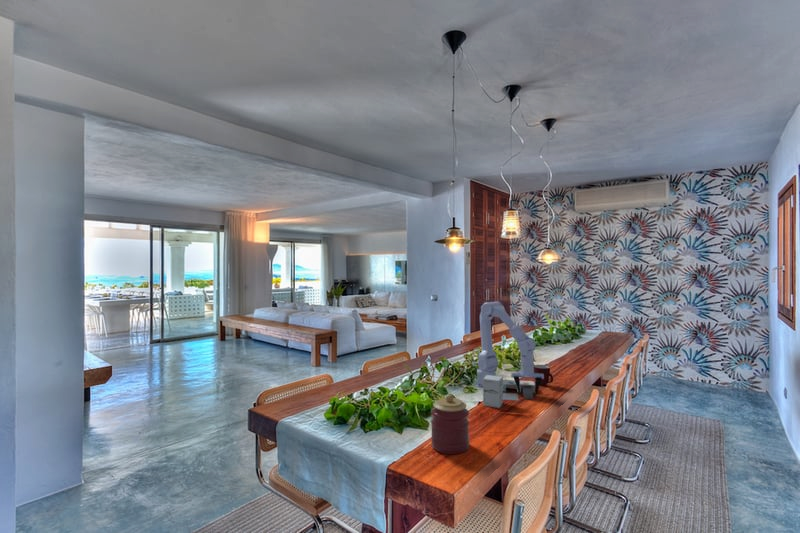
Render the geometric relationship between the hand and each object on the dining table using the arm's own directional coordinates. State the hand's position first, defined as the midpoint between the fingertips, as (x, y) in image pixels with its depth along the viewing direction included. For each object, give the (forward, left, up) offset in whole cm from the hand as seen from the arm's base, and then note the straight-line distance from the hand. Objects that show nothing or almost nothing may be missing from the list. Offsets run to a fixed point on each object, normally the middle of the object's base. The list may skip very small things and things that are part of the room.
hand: (527, 393), depth 181 cm
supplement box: (-16, -14, -2) cm, 22 cm away
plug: (0, 0, -2) cm, 2 cm away
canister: (-31, -57, -2) cm, 65 cm away
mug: (+10, +20, -2) cm, 22 cm away
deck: (-8, -2, -2) cm, 9 cm away
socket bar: (-3, +8, -2) cm, 9 cm away
